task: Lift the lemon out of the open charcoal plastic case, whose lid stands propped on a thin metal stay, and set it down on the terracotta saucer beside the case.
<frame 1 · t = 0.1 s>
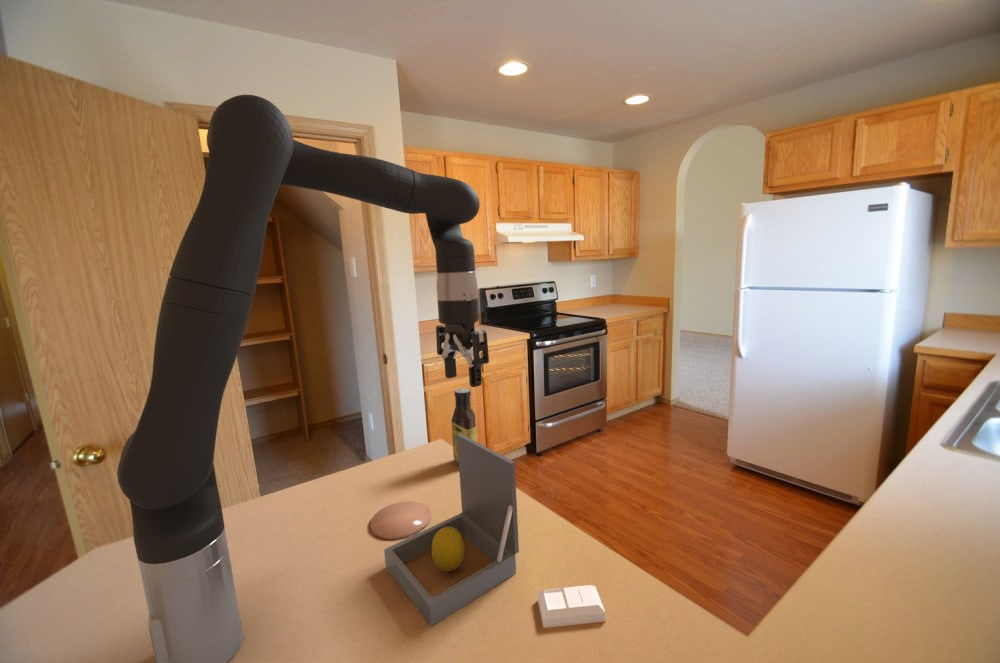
hand: (463, 381, 81), 29 cm above the worktop, tool pointing down, fingers open, 8 cm apart
case: (449, 570, 72), on the worktop
sauce bottle: (466, 463, 110), on the worktop
lemon: (449, 571, 72), resting in case
white rocker switch: (570, 614, 62), on the worktop
saucer: (401, 520, 87), on the worktop
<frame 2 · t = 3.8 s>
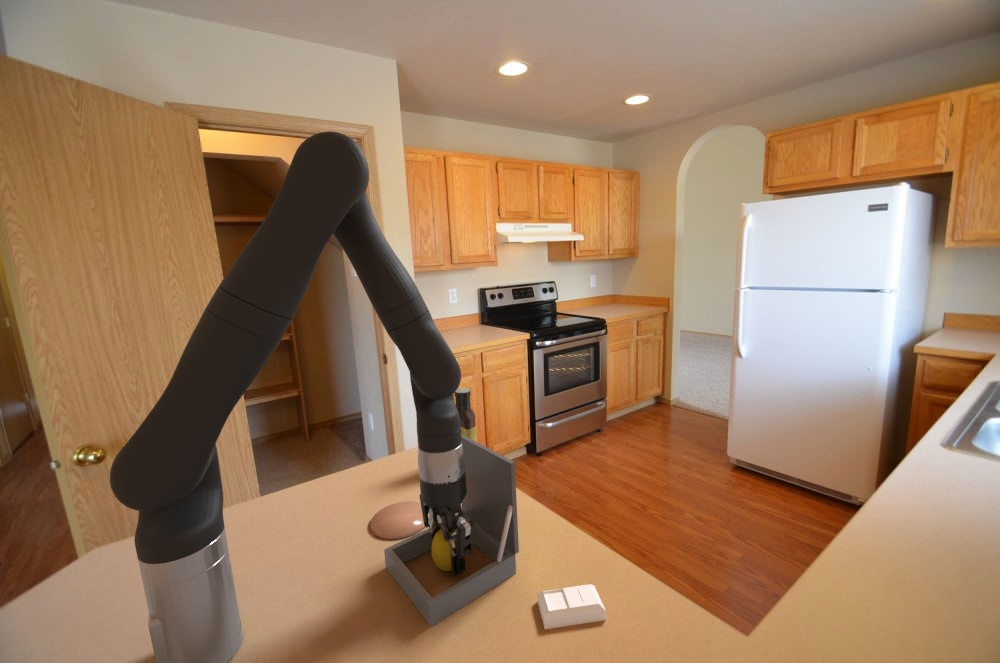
hand: (449, 562, 71), 2 cm above the worktop, tool pointing down, fingers closed on lemon, 5 cm apart
lemon: (449, 571, 72), resting in case, touching gripper
everything else where it was.
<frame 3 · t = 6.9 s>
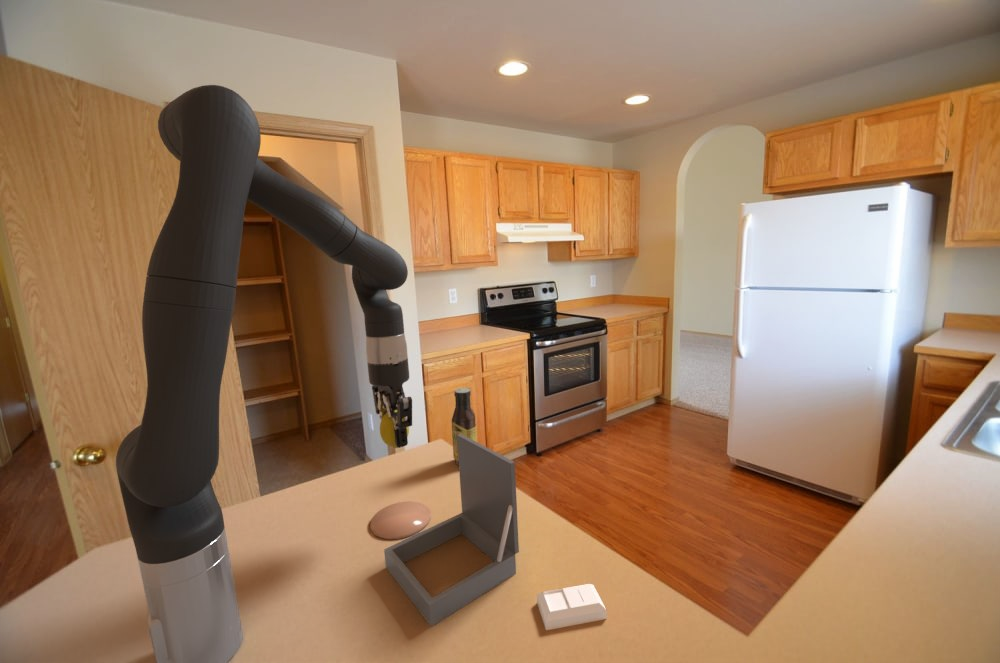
hand: (395, 440, 83), 17 cm above the worktop, tool pointing down, fingers closed on lemon, 5 cm apart
lemon: (396, 449, 84), point 16 cm above the worktop, touching gripper
everything else where it was.
when the fingers open (4 cm above the worktop, at t = 10.5 s): lemon drops 1 cm, resting on saucer.
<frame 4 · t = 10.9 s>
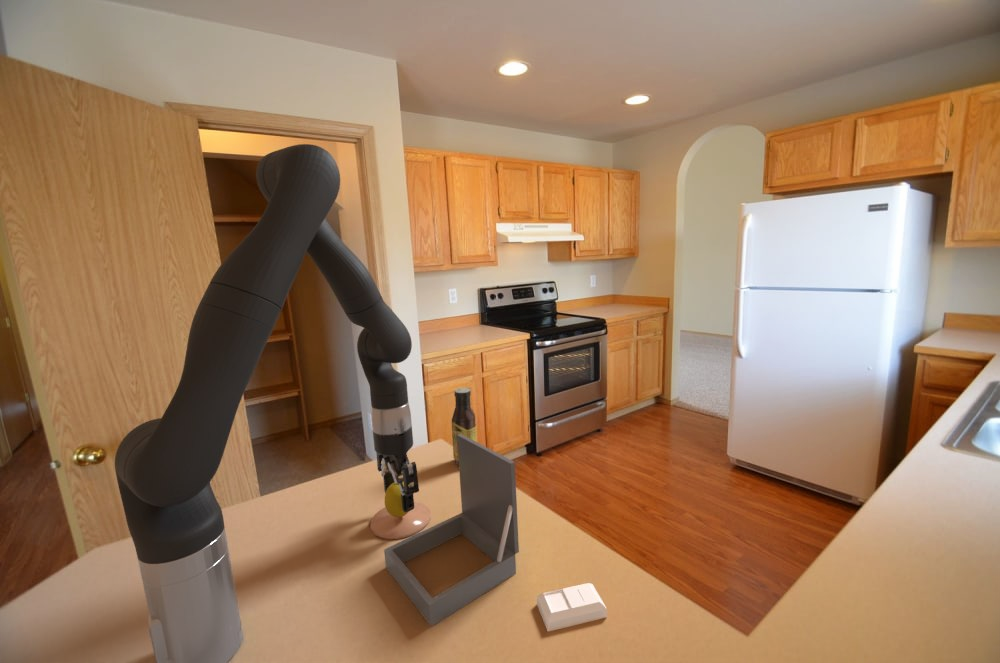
hand: (399, 501, 86), 4 cm above the worktop, tool pointing down, fingers open, 8 cm apart
lemon: (400, 518, 87), resting on saucer
everything else where it was.
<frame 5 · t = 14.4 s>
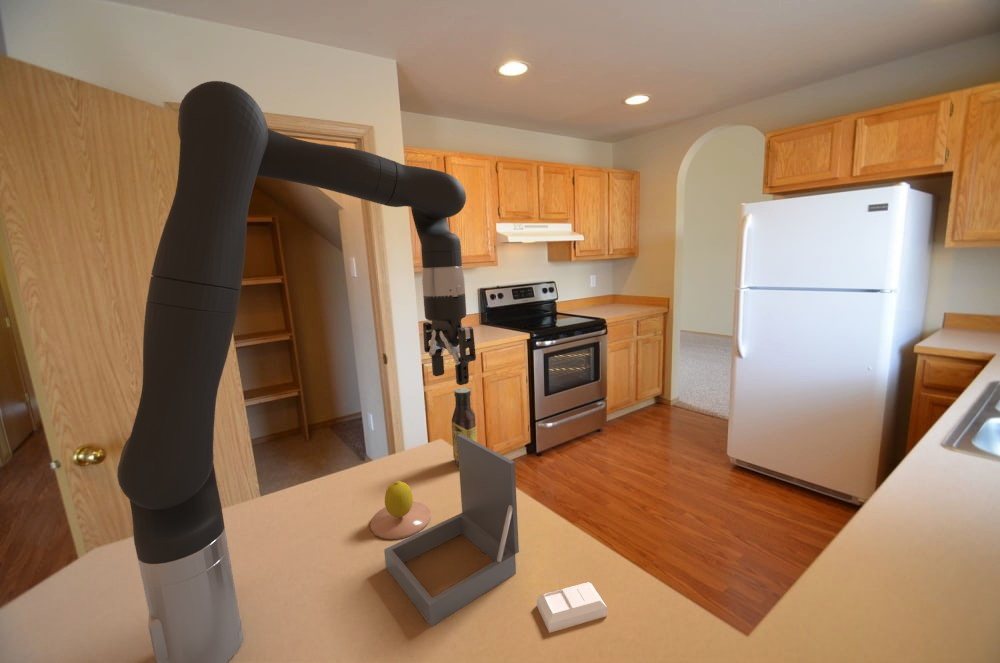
hand: (450, 379, 79), 30 cm above the worktop, tool pointing down, fingers open, 8 cm apart
nothing on the worktop moved.
at the end: lemon inside the target area on the saucer (0.1 cm from its centre), point 0.4 cm above the saucer's base; the gripper is holding nothing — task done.
